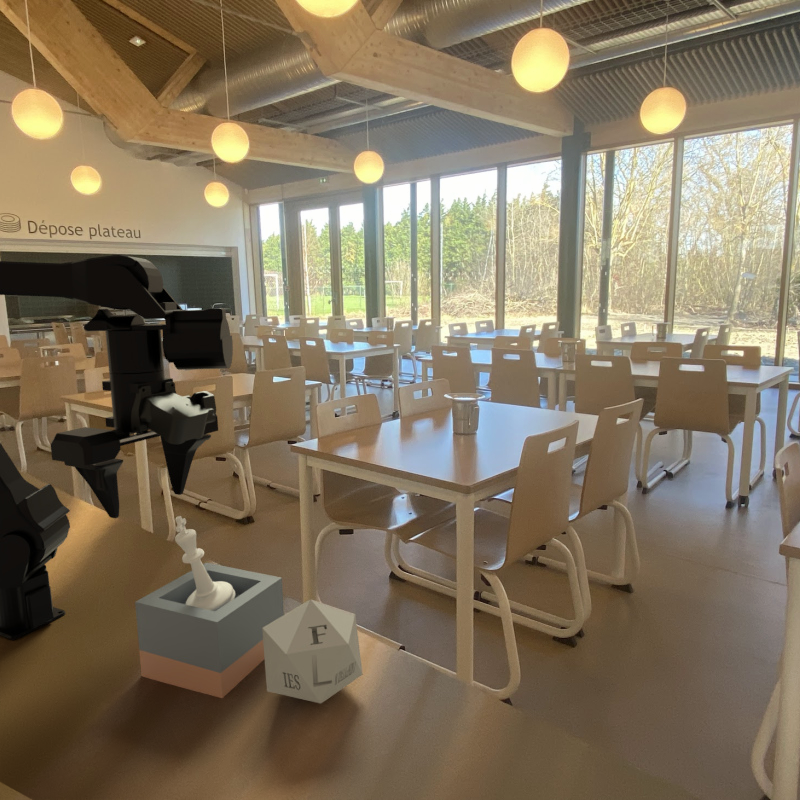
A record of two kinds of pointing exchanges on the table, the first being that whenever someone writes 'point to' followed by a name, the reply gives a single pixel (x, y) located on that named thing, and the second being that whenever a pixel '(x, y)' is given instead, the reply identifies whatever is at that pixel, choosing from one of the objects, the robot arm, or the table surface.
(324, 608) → the die
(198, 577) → the chess piece
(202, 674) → the grey planter box
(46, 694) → the table surface
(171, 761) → the table surface
